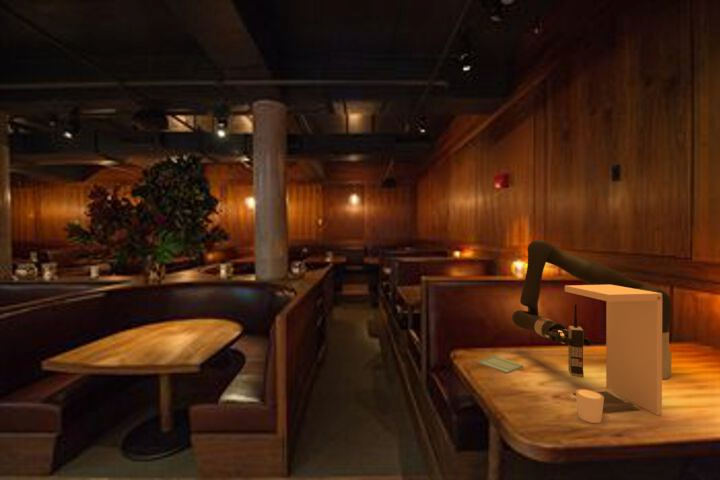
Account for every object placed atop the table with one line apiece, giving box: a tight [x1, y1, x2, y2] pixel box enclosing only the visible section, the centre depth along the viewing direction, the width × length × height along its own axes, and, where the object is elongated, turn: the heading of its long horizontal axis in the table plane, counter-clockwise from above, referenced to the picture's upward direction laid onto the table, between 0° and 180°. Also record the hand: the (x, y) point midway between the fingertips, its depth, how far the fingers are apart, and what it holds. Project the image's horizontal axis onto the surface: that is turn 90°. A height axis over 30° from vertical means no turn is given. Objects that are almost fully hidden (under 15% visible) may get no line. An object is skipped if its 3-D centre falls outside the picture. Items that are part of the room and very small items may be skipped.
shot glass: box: [575, 388, 604, 424], centre depth 98 cm, size 7×7×7 cm
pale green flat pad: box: [476, 355, 524, 375], centre depth 138 cm, size 14×12×1 cm
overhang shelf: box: [564, 284, 663, 416], centre depth 107 cm, size 17×18×36 cm
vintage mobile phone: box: [567, 304, 585, 379], centre depth 119 cm, size 4×5×25 cm
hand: (581, 343), depth 116 cm, fingers closed on vintage mobile phone, 5 cm apart
